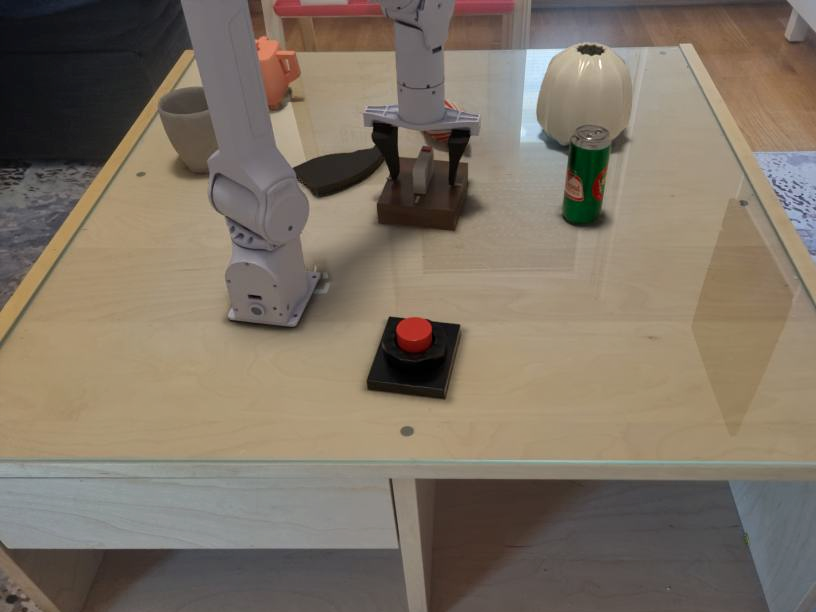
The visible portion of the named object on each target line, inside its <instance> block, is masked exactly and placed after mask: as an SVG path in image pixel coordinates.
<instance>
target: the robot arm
mask: <svg viewBox="0 0 816 612" xmlns="http://www.w3.org/2000/svg"><path fill="white" fill-rule="evenodd" d="M375 1H376V2H377V3H378V4H379V5H380V9H381V12H382V14H383V16H384V17H385V18H389V19H390V20H393V36H394V37H393V38H394V54H395V55H394V56H395V71H396V73H395V74H396V91H397V104H387V105H386V104H385V105H384V104H383V105H366V106H365V108H364V110H363V112H362V116H363V126H364V128H372V132H371V134H370V138H371V141H372V143H373V144H374V146H375V145H376V146H377V148H378V149H379V151H380V152H381V154H382V156H383V160H384V161H385V164H386V166H387V169H388V172H389V174H390V176H391V179H392V180H397V178H398V175H399V173H400V162H399V157H400V153H399V152H400V151H399V128H403V129H406V130H410V131H418V132H420V131H421V132H426V131H427V130H443V131H452V132H451V134H450V136H449V139H448V142H446V143H447V152H448V161H449V177H448V181H449V185H454V184H455V181H456V177H457V169H458V165H459V162H461V159H462V156H463V155H464V153H465V151H466V149H467V147H468V145H469V143H470V140H471V136H472V137H473V136H474V137H479V135H480V132H481V128H482V127H481V124H482V122H481V121H482V114H480V113H471V112H467V111H465V112H463V111H459V110H456V109H452V108H448V107H445V98H446V95H445V93H446V91H445V44H446V43H447V41H448V38H449V26H450V22H451V21H452V20H451V19H452V17H453V15H454V12H455V6H456V0H375ZM180 4H181V8H182V11H183V16H184V19H185V24H186V27H187V31H188V36H189V38H190V42H191V46H192V50H193V54H194V59H195V62H196V66H197V69H198V73H199V77H200V82H201V85H202V87H203V89H204V93H205V97H206V101H207V105H208V109H209V113H210V116H211V120H212V124H213V128H214V132H215V136H216V140H217V144H218V148H219V149H218V150H217V151H216V152H215V153H213V154H212V155H211V157H210V158H209V159H208V160H207V164H208V167H209V172H208V174H209V179H208V186H207V200H208V202H209V204H210V206H211V208H212V209H213V210H214V212H215V211H216V212H217V213H218V214H220V215H222V216H224V220H225V224H226V227H228V231H229V235H230V239H231V257H230V261H229V262H228V264H227V267H226V269H225V273H224V280H225V284H226V288H227V292H228V295H229V299H230V303H231V305H232V307H231V308H230V310H229V312H228V314H227V318H228V320H230V321H238V322H246V323H255V324H262V325H263V324H264V325H272V326H273V325H274V326H281V327H288V328H294V327H296V326H297V325H298V324H299V321H300V319H301V318H302V316H303V314H304V311H305V309H306V307H307V305H308V303H309V301H310V299H311V296H312V294H313V293H314V291H315V288H316V286H317V284H318V282H319V281H320V279H321V274H320V272H318V271H309V270H307V269H306V268H307V267H306V262H305V257H304V251H303V246H302V239H301V235H302V234H303V231H304V229H305V227H306V224H307V222H308V221H309V220H308V219H309V216H310V202H309V198H308V196H307V194H306V193H305V192H304V191H303V190H302V188H301V187H300V185H299V183H298V177H297V176H296V173H295V171H294V170H293V167H292V166H291V164H290V163H289V162H288V160H287V159H286V158H285V157H284V155H283V154H282V152H281V151H280V149H279V148H278V147H277V144H276V139H275V133H274V129H273V124H272V119H271V113H270V109H269V107H268V102H267V97H266V92H265V87H264V82H263V77H262V72H261V67H260V62H259V57H258V52H257V47H256V42H255V39H256V36H255V31H254V27H253V22H252V18H251V12H250V7H249V1H248V0H180Z"/></svg>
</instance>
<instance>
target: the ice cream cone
mask: <svg viewBox="0 0 816 612" xmlns="http://www.w3.org/2000/svg"><path fill="white" fill-rule="evenodd" d="M445 107H448V108H452V109H456V110H459V111H463V112H466V111H465V109H464V107H463V106H462V105H461V104H460V103H457V102H456V100H453V99H448V98H447V97H445ZM425 132H426V134H427V135H428V136H429V137H432V138H434V140H435V141H439V142H444V143H447V142H448V139H449V136H450V134H451V132H452V131H443V130H427V131H425Z"/></svg>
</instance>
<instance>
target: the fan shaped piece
mask: <svg viewBox="0 0 816 612" xmlns="http://www.w3.org/2000/svg"><path fill="white" fill-rule="evenodd" d="M383 160H384V158H383V156H382V154H381V152H380V151H379V149H378V148H377V146H376V145H375V144H374V146H372V147H371V148H363V149H356V150H355V151H351V152H337V153H336V152H335V153H329V154H324V155H320V156H316V157H313V158H311V159H309V160H307V161H304V162H302V163H300V164H298V165H295V166H293V167H292V168H293V170H294V171H295V173H296V178H297V179H298V180H300V182H302V184H304V185H306V186H307V187H309V189H311V190H312V191H314V193H315V194H316V196H317V197H319V198H323V197H326V196H329V195H333V194H335V193H339V192H341V191H344V190H348V189H349V188H351V187H353V186H357V184H359V183H361V182H363V181H364V180H366V179H367V178H368V177H369V176H370V175H372V174H373V173H374V172H375V171H376V170H377V169H378V167H380V165H381V164H382V162H383Z"/></svg>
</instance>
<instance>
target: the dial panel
mask: <svg viewBox="0 0 816 612" xmlns="http://www.w3.org/2000/svg"><path fill="white" fill-rule="evenodd" d="M417 158H418V157H406V156H405V157H404V156H399V162H400V173H399V175H398V178H397V180H392V179H391V176H390V173H389V175H388V176H386V179H385V180H386V181H385V184H384V186H383V187H382V190H381V193H380V194H379V197H378V199H377V202H376V211H377V213H376V215H377V223H378V224H385V225H395V226H396V225H397V226H407V227H408V226H409V227H416V228H417V227H418V228H426V229H427V228H428V229H429V228H430V229H436V230H437V229H438V230H446V231H454V230H455V228H456V223H457V221H458V217H459V214H460V210H461V207H462V205H463V204H462V203H463V200H464V196H465V193H466V190H467V186H468V183H469V162H465V161H464V162H463V161H460V162H459V165H458V169H457V177H456V181H455V184H454V185H449V181H448V177H449V160H442V159H441V160H440V159H434V172H433V175H432V178H431V180H430V183H429V186H428V189H427V191H426V194H418V193H414V189H413V168H414V165H415V163H416V160H417Z"/></svg>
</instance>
